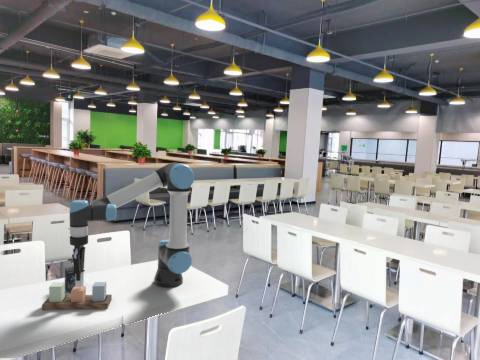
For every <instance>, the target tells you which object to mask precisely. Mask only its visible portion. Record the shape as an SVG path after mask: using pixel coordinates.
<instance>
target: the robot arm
mask: <svg viewBox="0 0 480 360" xmlns="http://www.w3.org/2000/svg"><path fill="white" fill-rule="evenodd" d="M194 181H195V173H194V170H193V168H192V167H190V166H189V165H187V164H185V163H180V162H170V163H167V164H165V165H164V166H161V167H159V168H157V169H156V170H154V171H153V172H152V174H150V175H148V176H145V177H143V178H141V179H139V180H137V181H135V182H133V183H131V184H128V185H127V186H125V187H122V188H120V189H119V190H118V189H117V190H116V191H114V192H112V193H109V194H108V195H106V196H104V197H102V198H96V199H94V200H93V201H92V202H91V203H90V204H89V201H88V200H84V199H75V200H72V201H70V204H69V228H68V230H69V235H70V236H69V245H71V246H73V247H74V248H73V249H72V252H73V253H72V254H71V258H72V267H73V268H74V272H73V274H75V287H82V286H84V273H85V255H86V246H85V245H88V243H89V235H88V234H89V222H109V221H115V220H116V219H117V216H118V215H117V213H118V211H117V209H118V208H119V207H121V206H123V205H126V204H128V203H130V202H132V201H133V200H137V199H138V198H140V197H142V196H144V195H147V194H148V193H150V192H152V191H154V190H157V189H158V188H161V189H163V188H164V187H166V190H167V192H168V193H169V195H170V196H169V224H168V225H169V226H168V227H169V228H168V229H169V230H168V233H169V234H168V239H162V240H159V242H158V246H157V247H158V248H157V249H158V250H157V269H156V271H155V275H154V278H153V283H154V285H155V286H157V287H163V288H173V287H176V286H180V285H182V284H183V283H184V282H183V280H184V277H183V273H185V272H187V271H188V270H189V269H190V268H191V267H192V263H193V258H192V255H191V254H190V243H188V242H187V238H188V237H187V235H188V232H187V231H188V201H189V200H188V198H189V197H188V196H189V194H190V193H191V192H192V191H191V190H192V185H193V183H195V182H194ZM83 269H84V270H83ZM83 272H84V273H83Z"/></svg>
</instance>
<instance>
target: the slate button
mask: <svg viewBox="0 0 480 360" xmlns="http://www.w3.org/2000/svg"><path fill="white" fill-rule="evenodd" d="M91 287H92V288H91V291H92V293H91V295H92V301H104V300H105V298H106V295H107V281H95V282H94V283H93V284H92V286H91Z"/></svg>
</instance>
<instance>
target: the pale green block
mask: <svg viewBox="0 0 480 360" xmlns="http://www.w3.org/2000/svg"><path fill="white" fill-rule="evenodd" d="M48 290H49V291H48V293H49V294H48V297H49V302H52V303H54V302H62V300H63V299H64V298H65V295H66V290H65V281H64V282H63V281H61V282H52V283H51V284H50V285H49V288H48Z"/></svg>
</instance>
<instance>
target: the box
mask: <svg viewBox="0 0 480 360" xmlns="http://www.w3.org/2000/svg"><path fill="white" fill-rule="evenodd" d="M83 270H85V268H84V269H83ZM73 272H74V268H73V266H72V267H71V266H69V267H65V268H64V282H65V293H68V292H71V290H72V289H73V287H75V274H73ZM84 273H85V271H84V272H83V274H84Z"/></svg>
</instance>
